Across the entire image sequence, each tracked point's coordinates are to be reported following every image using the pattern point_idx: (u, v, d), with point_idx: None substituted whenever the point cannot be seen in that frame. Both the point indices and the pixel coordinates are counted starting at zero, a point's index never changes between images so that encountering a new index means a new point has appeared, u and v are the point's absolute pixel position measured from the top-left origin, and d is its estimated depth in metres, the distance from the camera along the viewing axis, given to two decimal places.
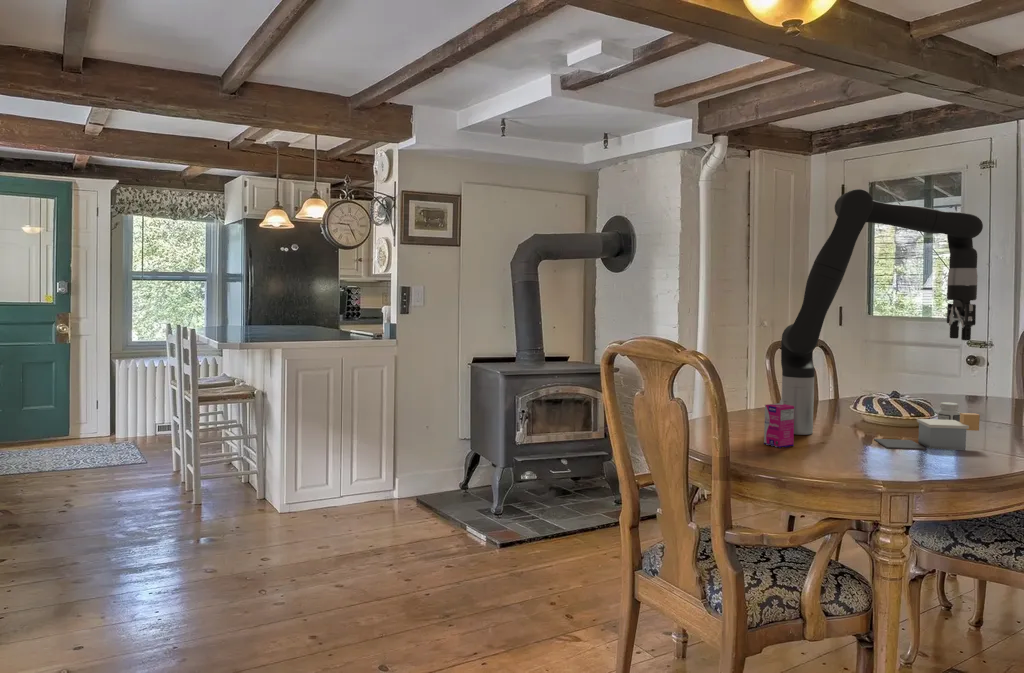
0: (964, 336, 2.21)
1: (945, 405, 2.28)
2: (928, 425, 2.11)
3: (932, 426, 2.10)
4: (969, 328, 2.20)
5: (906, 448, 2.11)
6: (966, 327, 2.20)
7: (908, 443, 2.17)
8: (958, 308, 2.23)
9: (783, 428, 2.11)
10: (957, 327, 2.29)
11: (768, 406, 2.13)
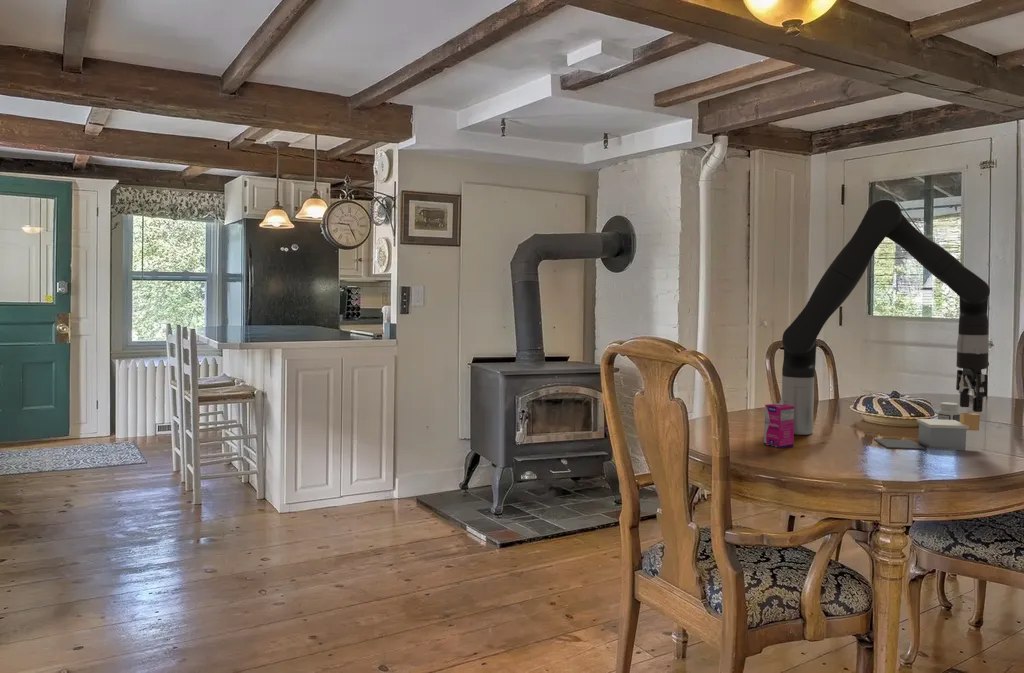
0: (975, 407, 2.08)
1: (945, 405, 2.28)
2: (928, 425, 2.11)
3: (932, 426, 2.10)
4: (981, 399, 2.08)
5: (906, 448, 2.11)
6: (977, 398, 2.08)
7: (908, 443, 2.17)
8: (969, 377, 2.11)
9: (783, 428, 2.11)
10: (967, 395, 2.17)
11: (768, 406, 2.13)
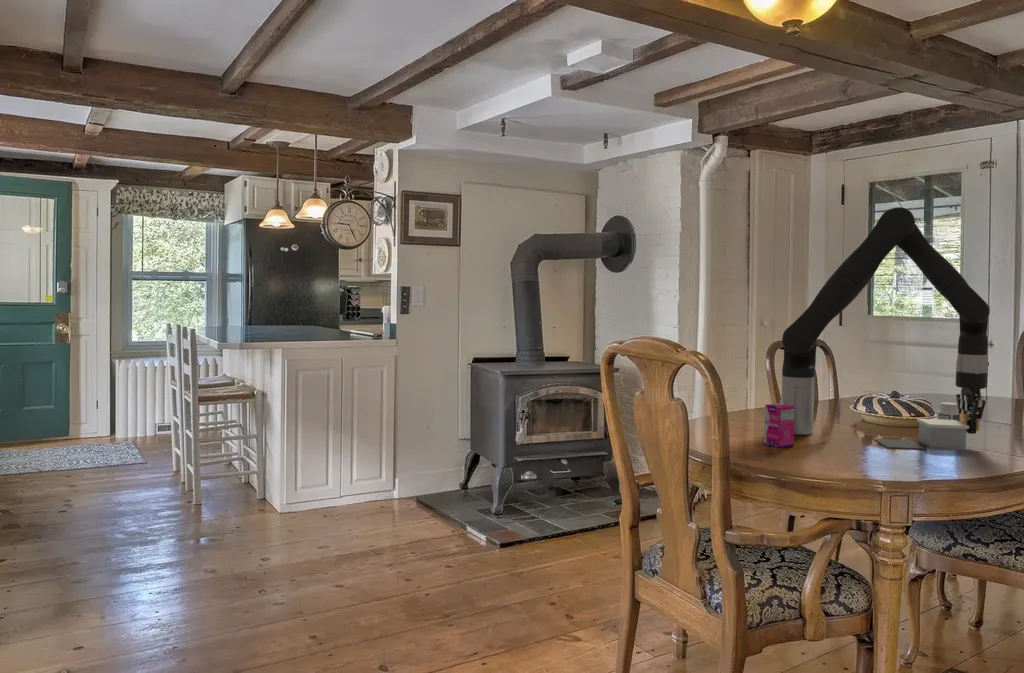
0: (969, 429, 2.11)
1: (945, 405, 2.28)
2: (928, 425, 2.11)
3: (932, 426, 2.10)
4: (975, 421, 2.11)
5: (906, 448, 2.11)
6: (972, 420, 2.11)
7: (908, 443, 2.17)
8: (967, 397, 2.11)
9: (783, 428, 2.11)
10: None
11: (768, 406, 2.13)
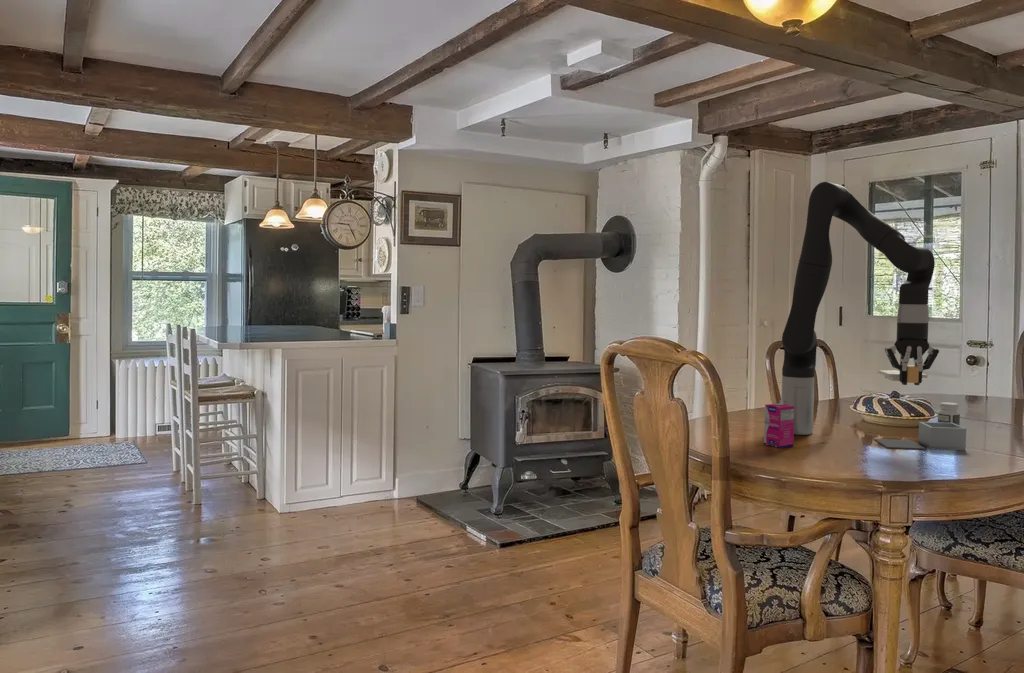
0: None
1: (945, 405, 2.28)
2: None
3: (878, 372, 2.20)
4: (901, 372, 2.08)
5: (906, 448, 2.11)
6: (899, 370, 2.09)
7: (908, 443, 2.17)
8: None
9: (783, 428, 2.11)
10: None
11: (768, 406, 2.13)
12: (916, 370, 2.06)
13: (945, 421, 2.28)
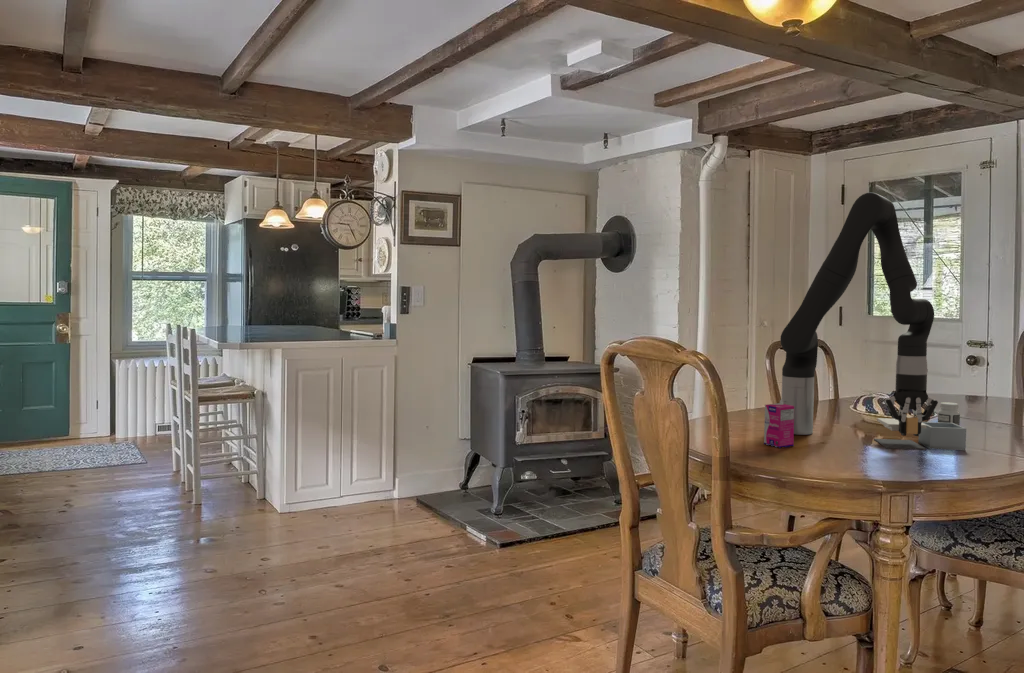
0: None
1: (945, 405, 2.28)
2: None
3: (877, 420, 2.21)
4: (900, 422, 2.09)
5: (906, 448, 2.11)
6: None
7: (908, 443, 2.17)
8: None
9: (783, 428, 2.11)
10: None
11: (768, 406, 2.13)
12: (915, 421, 2.07)
13: (945, 421, 2.28)
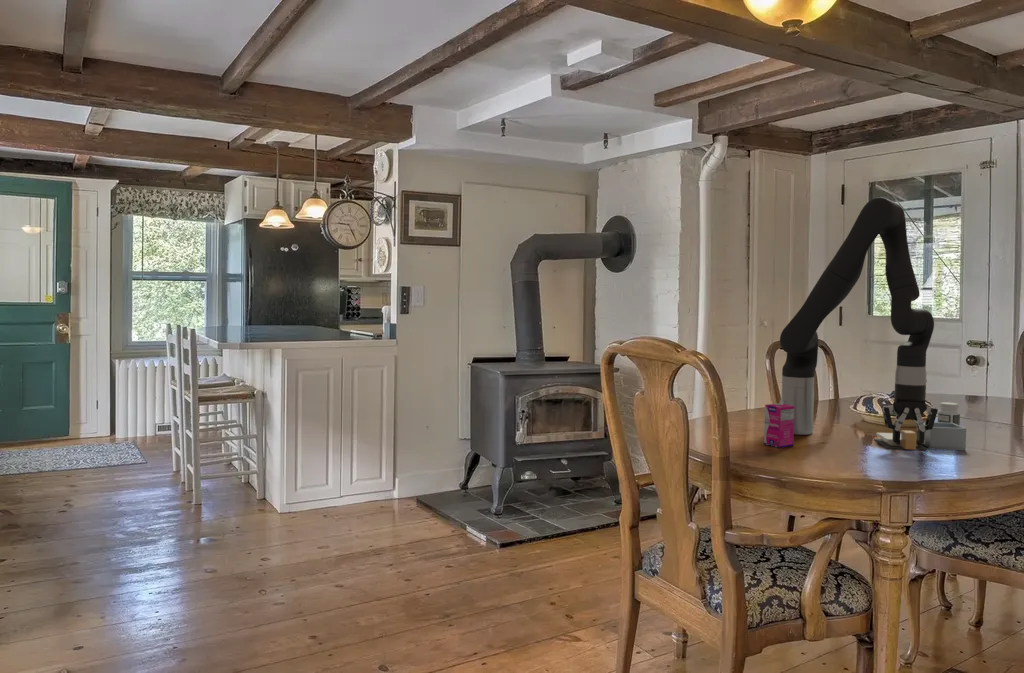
0: None
1: (945, 405, 2.28)
2: None
3: (877, 434, 2.21)
4: (894, 431, 2.10)
5: None
6: None
7: None
8: None
9: (783, 428, 2.11)
10: (919, 433, 2.08)
11: (768, 406, 2.13)
12: (914, 437, 2.07)
13: (945, 421, 2.28)
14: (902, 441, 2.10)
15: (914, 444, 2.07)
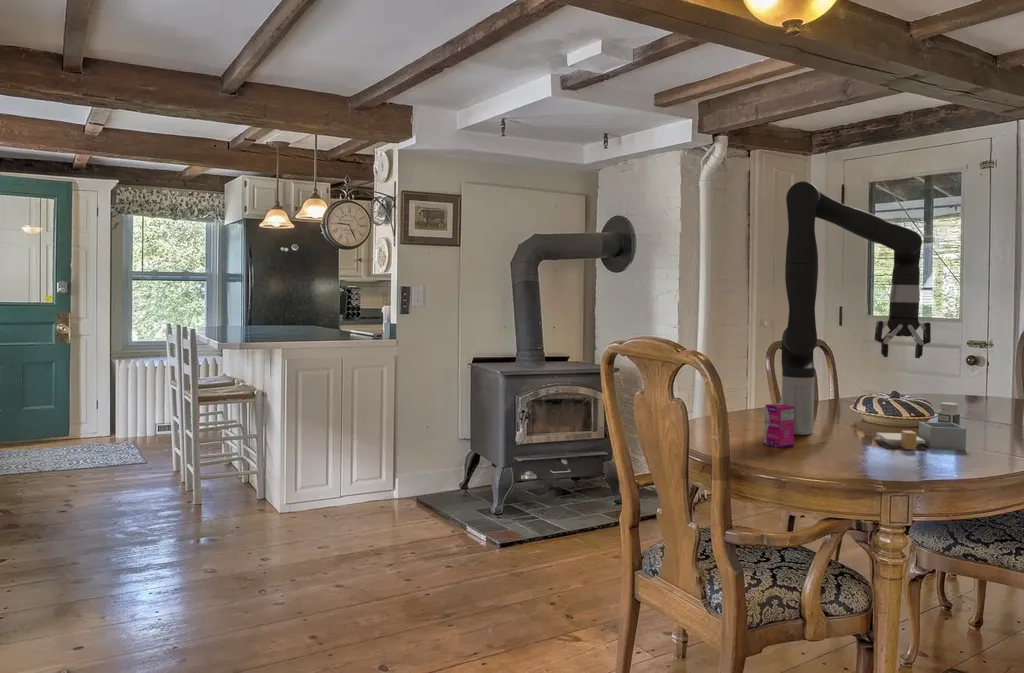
0: None
1: (945, 405, 2.28)
2: None
3: (877, 434, 2.21)
4: (882, 344, 2.21)
5: None
6: (881, 343, 2.22)
7: None
8: None
9: (783, 428, 2.11)
10: (917, 346, 2.19)
11: (768, 406, 2.13)
12: (914, 437, 2.07)
13: (945, 421, 2.28)
14: (902, 441, 2.10)
15: (914, 444, 2.07)
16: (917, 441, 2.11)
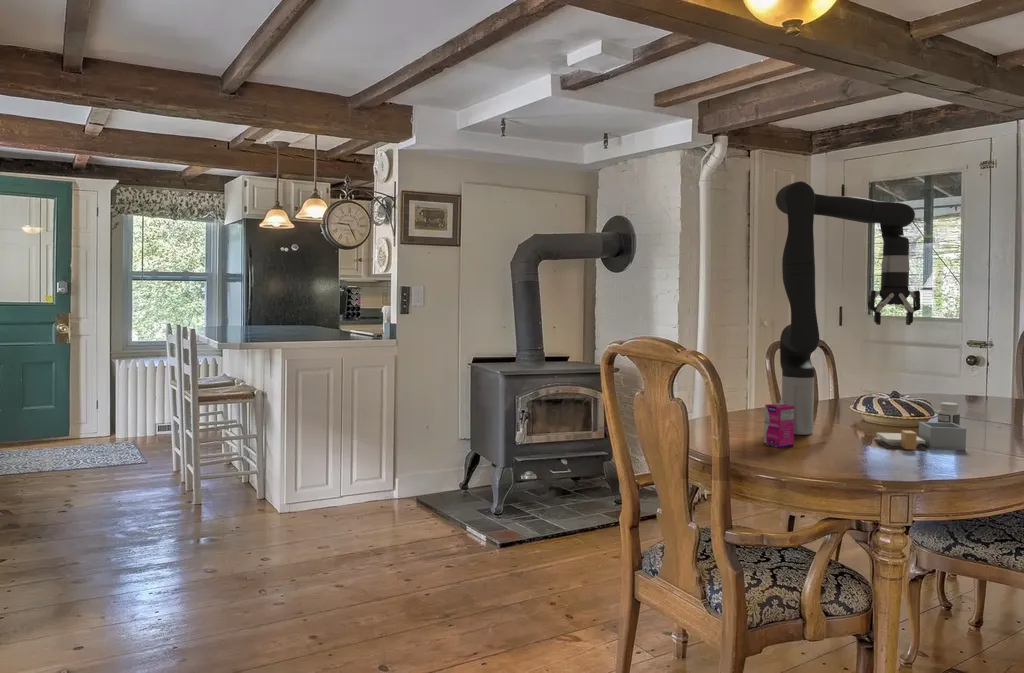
0: None
1: (945, 405, 2.28)
2: None
3: (877, 434, 2.21)
4: (875, 313, 2.33)
5: None
6: (874, 312, 2.34)
7: None
8: None
9: (783, 428, 2.11)
10: (908, 313, 2.31)
11: (768, 406, 2.13)
12: (914, 437, 2.07)
13: (945, 421, 2.28)
14: (902, 441, 2.10)
15: (914, 444, 2.07)
16: (917, 441, 2.11)
